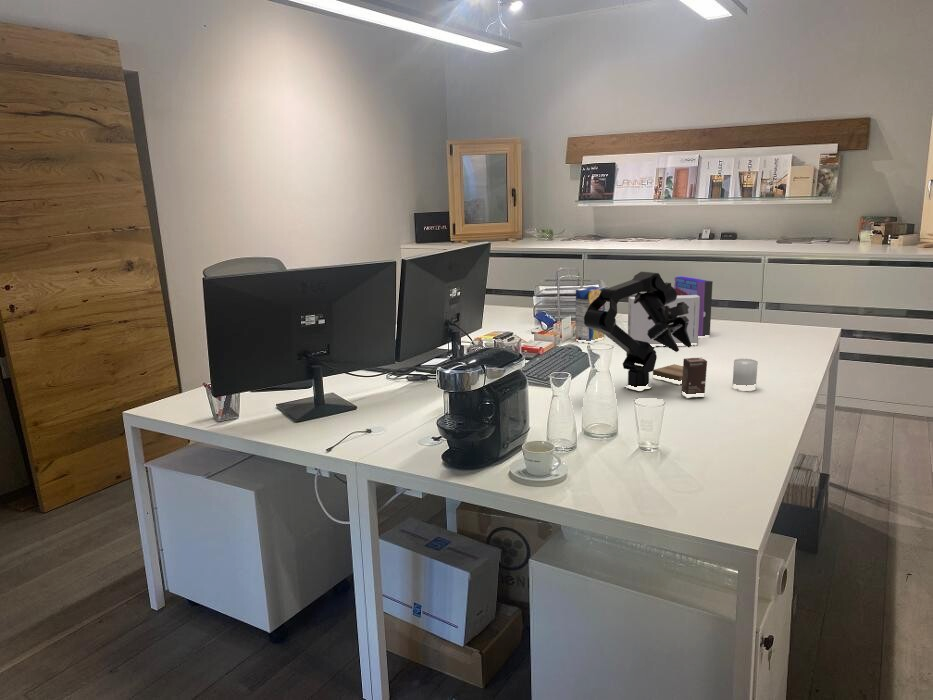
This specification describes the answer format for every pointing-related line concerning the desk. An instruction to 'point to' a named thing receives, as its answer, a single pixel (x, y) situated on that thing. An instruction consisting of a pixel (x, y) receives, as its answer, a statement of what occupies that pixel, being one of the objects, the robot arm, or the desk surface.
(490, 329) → the desk surface
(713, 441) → the desk surface
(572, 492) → the desk surface
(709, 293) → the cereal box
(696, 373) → the box
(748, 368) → the grey pillar candle
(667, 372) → the podium
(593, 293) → the beverage box
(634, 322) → the game console
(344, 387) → the desk surface
